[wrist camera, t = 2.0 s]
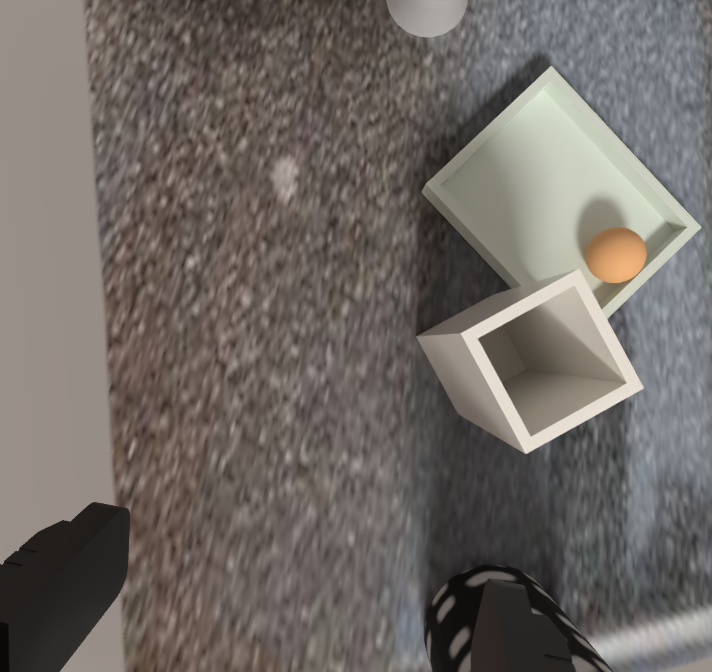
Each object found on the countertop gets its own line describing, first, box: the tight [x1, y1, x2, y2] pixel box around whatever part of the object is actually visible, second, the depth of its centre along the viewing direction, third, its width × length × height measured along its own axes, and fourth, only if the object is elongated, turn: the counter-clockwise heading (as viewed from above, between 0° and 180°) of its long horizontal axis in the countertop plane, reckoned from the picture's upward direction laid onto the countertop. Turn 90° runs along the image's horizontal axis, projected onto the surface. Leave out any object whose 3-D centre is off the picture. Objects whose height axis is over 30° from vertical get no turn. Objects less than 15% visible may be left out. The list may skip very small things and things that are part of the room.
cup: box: [416, 269, 643, 454], centre depth 28 cm, size 5×5×12 cm
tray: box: [421, 66, 701, 319], centre depth 33 cm, size 13×10×2 cm
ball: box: [586, 227, 647, 283], centre depth 32 cm, size 3×3×3 cm
